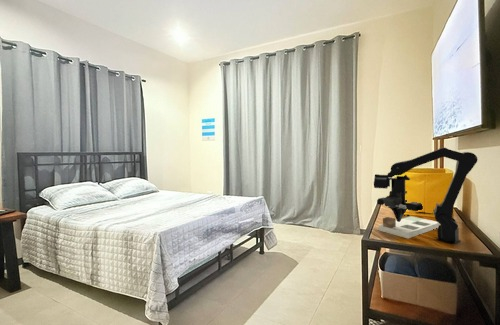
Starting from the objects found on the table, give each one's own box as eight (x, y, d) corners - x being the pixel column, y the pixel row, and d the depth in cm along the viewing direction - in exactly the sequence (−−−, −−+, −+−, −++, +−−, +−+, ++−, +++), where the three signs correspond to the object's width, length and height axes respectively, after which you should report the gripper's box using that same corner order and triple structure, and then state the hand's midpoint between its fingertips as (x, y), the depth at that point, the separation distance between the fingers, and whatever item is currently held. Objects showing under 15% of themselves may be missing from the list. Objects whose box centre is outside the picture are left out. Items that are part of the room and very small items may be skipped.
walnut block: (395, 226, 124) (395, 218, 124) (390, 228, 122) (390, 220, 122) (387, 224, 128) (387, 216, 128) (382, 226, 126) (382, 218, 126)
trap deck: (440, 227, 128) (440, 222, 128) (408, 238, 115) (408, 233, 115) (410, 220, 141) (410, 216, 141) (378, 230, 127) (378, 225, 127)
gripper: (369, 188, 124) (370, 220, 125) (408, 193, 108) (409, 229, 108) (383, 186, 129) (384, 216, 130) (423, 190, 113) (423, 225, 114)
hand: (398, 221), depth 121 cm, fingers closed
